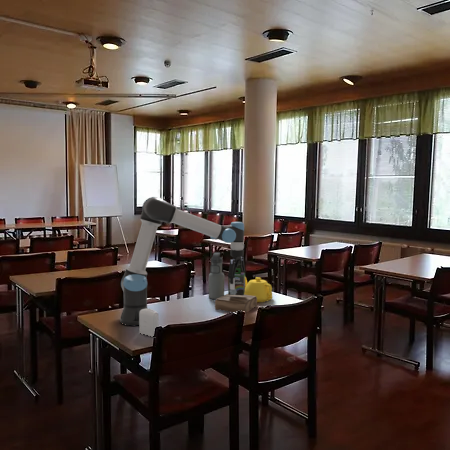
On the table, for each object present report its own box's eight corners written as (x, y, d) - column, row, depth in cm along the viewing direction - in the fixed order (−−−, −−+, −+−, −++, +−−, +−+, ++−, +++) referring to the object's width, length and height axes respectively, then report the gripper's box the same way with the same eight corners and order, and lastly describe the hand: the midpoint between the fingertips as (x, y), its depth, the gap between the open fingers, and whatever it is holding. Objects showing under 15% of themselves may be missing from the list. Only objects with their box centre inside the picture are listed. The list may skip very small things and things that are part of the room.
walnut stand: (244, 313, 251) (244, 303, 251) (215, 309, 259) (215, 298, 259) (256, 306, 267) (257, 296, 267) (229, 302, 275) (229, 292, 275)
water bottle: (222, 300, 280) (222, 254, 278) (206, 299, 282) (207, 254, 280) (225, 296, 290) (226, 252, 288) (210, 295, 292) (211, 251, 290)
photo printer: (137, 333, 215) (137, 308, 214) (144, 331, 219) (144, 306, 218) (153, 338, 209) (153, 312, 208) (160, 336, 213) (160, 310, 212)
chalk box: (245, 292, 267) (245, 266, 265) (244, 295, 258) (244, 269, 256) (229, 291, 268) (229, 266, 266) (227, 295, 259) (228, 269, 257)
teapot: (231, 297, 287) (232, 276, 286) (250, 293, 300) (251, 272, 298) (262, 305, 270) (263, 282, 268) (281, 300, 282) (281, 278, 281)
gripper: (234, 252, 248) (233, 292, 250) (251, 247, 269) (250, 284, 271) (221, 251, 252) (221, 290, 254) (239, 246, 272) (239, 283, 274)
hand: (236, 287), depth 262 cm, fingers closed on chalk box, 11 cm apart
